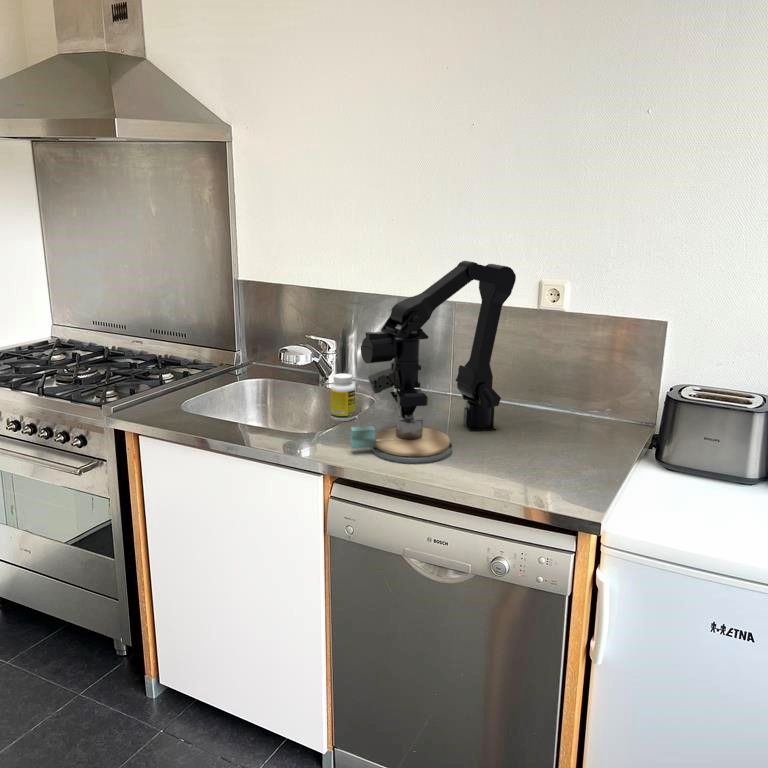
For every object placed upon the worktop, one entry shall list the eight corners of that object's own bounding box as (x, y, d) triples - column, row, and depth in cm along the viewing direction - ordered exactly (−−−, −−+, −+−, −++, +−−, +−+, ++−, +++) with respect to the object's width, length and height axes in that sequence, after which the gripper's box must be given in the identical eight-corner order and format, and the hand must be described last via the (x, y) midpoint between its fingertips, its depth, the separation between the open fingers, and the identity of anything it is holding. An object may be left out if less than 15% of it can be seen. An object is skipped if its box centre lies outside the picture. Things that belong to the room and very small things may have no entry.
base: (439, 434, 181) (440, 429, 181) (461, 461, 164) (461, 456, 164) (365, 438, 178) (365, 433, 177) (379, 466, 161) (379, 460, 160)
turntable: (438, 429, 180) (439, 413, 179) (458, 454, 164) (459, 436, 163) (346, 433, 176) (346, 417, 175) (357, 459, 160) (357, 441, 159)
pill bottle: (351, 422, 189) (352, 379, 186) (327, 420, 190) (327, 377, 187) (357, 415, 195) (358, 373, 192) (334, 413, 196) (334, 371, 193)
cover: (419, 430, 176) (419, 410, 174) (425, 439, 170) (425, 418, 169) (393, 432, 175) (393, 412, 173) (398, 440, 169) (399, 420, 168)
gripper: (364, 350, 180) (364, 413, 184) (378, 370, 162) (377, 439, 166) (411, 349, 182) (409, 411, 186) (429, 368, 164) (427, 437, 168)
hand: (404, 424), depth 176 cm, fingers closed
